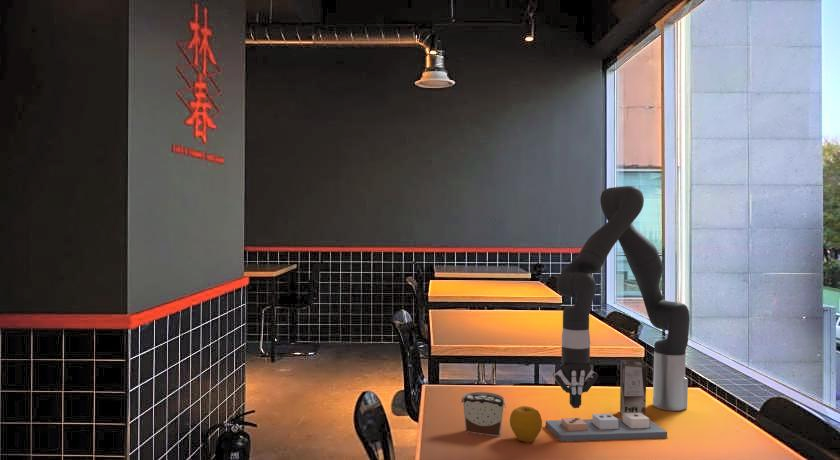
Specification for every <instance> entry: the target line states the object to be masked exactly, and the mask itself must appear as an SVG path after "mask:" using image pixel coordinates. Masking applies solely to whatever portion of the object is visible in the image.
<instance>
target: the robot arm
mask: <svg viewBox="0 0 840 460" xmlns="http://www.w3.org/2000/svg"><path fill="white" fill-rule="evenodd" d="M599 198H600V201H599V202H600V203H599V204H600V207H601V210H602V213H603V215H604V217H605V218H606V220H607V222H606V223H605V224H604V225H602V226H601V227H600V228H599V229H597V230H596V231H595V232H594V233H592V234H591V235H590V236H589V237H588V239H587V240H586V242H585V243H584V244H583V246H582V248H581V250H579V251H580V252H579V253H578V255H577V256H576V257H575V258H574V259H572V260H571V262H570V263H569V264H568V265H567V266H566V267H565V268H563V270H561V272H560V274H558V277H557V281H556V289H557V292H558V293H559V295H561V296H563V297H568V298H576V300H575V303H574V305H567V306H566V307H564V308H563V310H562V331H561V364H560V367H559V370H558V371H557V372H554V373H552V375H551V376H552V377H553V379H554V380H555V381H556V383H557V384H558V386H560V388H561V389H562V390H563V391H564V392H565V393H567V394H569V405H570V406H571V408H573V409H580V406H581V405H582V394H583V393H588V391H590V389H591V388H592V386H593V385H594V384H595V383H596V381H597V379H598V378H599V374H598V372H595V371H594V370H592V366H591V364H590V362H591V359H590V356H591V351H590V350H591V336H590V335H591V334H590V313H591V309H592V305H593V301H594V299H595V298H594V297H595V295H596V291H597V284H596V280H595V278H594V277H593V275H594V274H597V273H598V272H599V271H600V270H601V268H602V267H603V265H604V263H605V261H606V259H607V257H608V256H609V254H610V252H611V251H612V249H613V247H614V246H615V244H616V243H617V242H619V244H620V247H621V249H622V251H623V254H624V255H625V259H626V261H627V263H628V266H629V268H630V271H631V273H632V275H633V278H634V279H635V282H636V284H637V287H638V290H639V291H640V294H641V298H642V300H643V303H644V307H645V311H646V313H647V316H648V320H649V321H650V323H651V325H652V326H653V327H654V328H656V329H658V330H663V331H667V336H666V338H665V339H661V340H658V341H655V342H654V345H653V383H652V384H653V387H652V389H653V392H652V405H653V407H654V408H657V409H659V410H664V411H672V412H675V411H676V412H677V411H683V410H688V394H689V393H688V392H689V391H688V390H689V387H688V386H689V379H688V378H687V377H686V353H687V352H686V351H687V346H688V343H689V333H690V320H691V318H690V311H689V307H688V306H687V305H686V304H685V303H682V302H678V301H677V302H676V301H669V300H666V299H665V298H664V297H663V294H662V293H661V290H660V282H661V278H662V275H663V271H664V266H663V262H662V259H661V257H660V254H659V251H658V249H657V247H656V246H655V245H654V244H655V243H653V242H652V241H651V240H650V239H649V238H648V237H646V235H644V234H643V233H642V232H640V230H638V229H637V228H636V226H635V225H633V222H634V221H635V220H636V219H637V217H638V216H639V215H640V214H641V212H642V210H643V207H644V201H645V198H644V194H643V192H642V190H641V189H640V188H639V187H637V186H634V185H626V186H625V185H624V186H616V187H608V188H605V189H604V190H602V192H601V195H600V197H599ZM564 378H565V379H566V381H567V384H568V385H567V384H566V383H565V381H564V380H563V379H564Z"/></svg>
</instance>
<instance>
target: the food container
mask: <svg viewBox="0 0 840 460" xmlns="http://www.w3.org/2000/svg"><path fill="white" fill-rule="evenodd" d="M460 403H461V404H462V405H463V412H464V413H463V414H464V415H463V416H464V425H465V432H466V431H469V432H473V433H472V434H476V433H480V434H479V435H483V434H486V435H485V436H492V437H498V438H499V437H501V431H502V421H503V413H504V409H505V408H507V404H506V400H505V398H504V397H503V396H502V395H500V394H499V393H498V394H497V393H495V392H486V391H482V392H481V391H474V392H469V393H468V392H467V393H465V394H463V395H462V397H461V401H460Z"/></svg>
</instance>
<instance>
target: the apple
mask: <svg viewBox="0 0 840 460" xmlns="http://www.w3.org/2000/svg"><path fill="white" fill-rule="evenodd" d="M509 425H510V428H511V431H512V432H513V434H514V435H515V437H516V438H517V439H518V440H519V441H520V442H524V443H532V442H534V441H535V440H536V438H537V437H538V436H539V434H540V433H541V430H542V428H543V420H542V415H541V414H540V412H539V410H537V409H536V408H534V407H532V406H531V407H530V406H529V405H528V406H526V405H522V406H518V407H516V408H514V409H513V410H512V412H511V414H510V416H509Z"/></svg>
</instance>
